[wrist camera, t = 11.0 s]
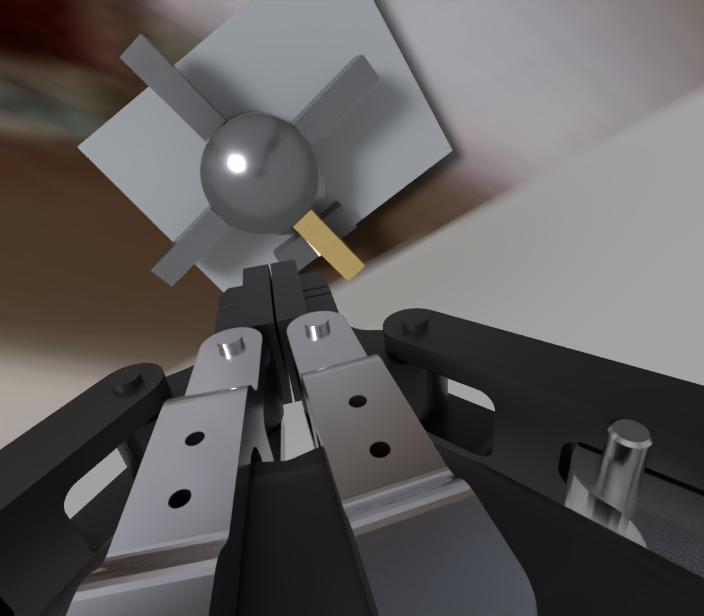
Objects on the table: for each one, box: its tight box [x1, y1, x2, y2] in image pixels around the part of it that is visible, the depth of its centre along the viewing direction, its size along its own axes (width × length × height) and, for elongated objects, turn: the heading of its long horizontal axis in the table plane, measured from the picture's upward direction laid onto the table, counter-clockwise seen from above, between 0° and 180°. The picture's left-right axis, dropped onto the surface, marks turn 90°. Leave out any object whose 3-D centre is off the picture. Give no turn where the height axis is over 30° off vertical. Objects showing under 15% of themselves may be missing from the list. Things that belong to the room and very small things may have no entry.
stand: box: [78, 0, 452, 292], centre depth 30 cm, size 20×15×3 cm
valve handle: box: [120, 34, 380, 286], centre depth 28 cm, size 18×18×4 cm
